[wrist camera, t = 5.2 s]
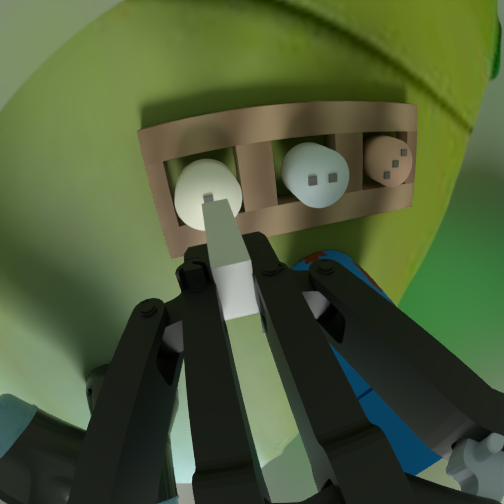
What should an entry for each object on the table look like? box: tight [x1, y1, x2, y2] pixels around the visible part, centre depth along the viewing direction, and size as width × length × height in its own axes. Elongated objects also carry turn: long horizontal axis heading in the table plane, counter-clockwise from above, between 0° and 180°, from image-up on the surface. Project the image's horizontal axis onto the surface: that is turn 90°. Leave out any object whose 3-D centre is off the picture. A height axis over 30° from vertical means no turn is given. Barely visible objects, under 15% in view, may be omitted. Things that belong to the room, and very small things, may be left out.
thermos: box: [291, 250, 443, 476], centre depth 24 cm, size 11×11×25 cm
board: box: [137, 101, 417, 259], centre depth 25 cm, size 27×12×2 cm, turn 97°
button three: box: [363, 134, 412, 187], centre depth 25 cm, size 5×5×3 cm
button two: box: [281, 142, 349, 208], centre depth 22 cm, size 5×5×3 cm
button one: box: [174, 159, 242, 231], centre depth 21 cm, size 5×5×3 cm
